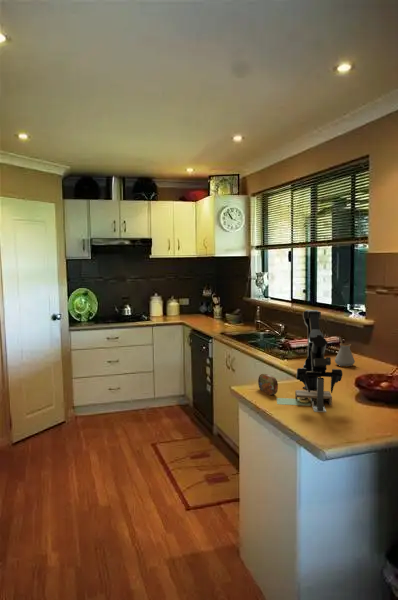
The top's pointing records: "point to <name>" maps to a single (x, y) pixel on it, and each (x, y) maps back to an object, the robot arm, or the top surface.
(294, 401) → the mat
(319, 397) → the grey l-shaped block
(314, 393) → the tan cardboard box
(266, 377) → the tin
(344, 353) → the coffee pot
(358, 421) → the top surface
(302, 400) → the token
